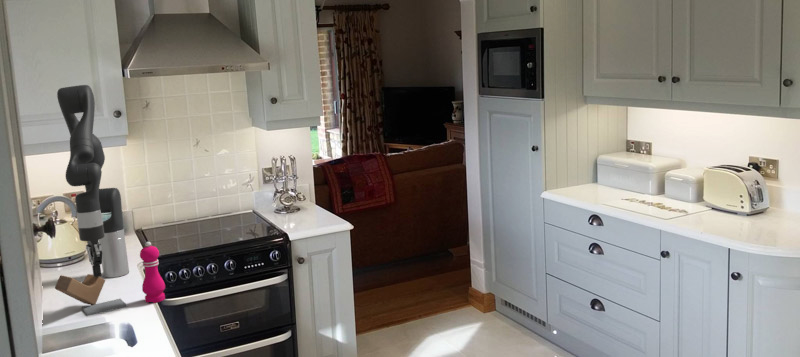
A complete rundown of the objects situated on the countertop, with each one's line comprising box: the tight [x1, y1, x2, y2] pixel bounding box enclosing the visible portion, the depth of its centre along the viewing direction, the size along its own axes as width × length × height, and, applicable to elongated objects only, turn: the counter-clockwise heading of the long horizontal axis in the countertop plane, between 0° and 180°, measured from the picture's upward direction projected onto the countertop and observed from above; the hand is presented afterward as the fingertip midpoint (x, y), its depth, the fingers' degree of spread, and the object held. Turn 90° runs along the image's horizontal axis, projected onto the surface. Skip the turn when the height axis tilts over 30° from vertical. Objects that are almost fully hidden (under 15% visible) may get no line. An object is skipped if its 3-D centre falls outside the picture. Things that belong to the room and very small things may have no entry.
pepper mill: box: [139, 241, 166, 304], centre depth 236 cm, size 7×7×20 cm
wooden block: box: [54, 273, 106, 306], centre depth 230 cm, size 9×4×18 cm
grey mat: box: [81, 298, 128, 316], centre depth 233 cm, size 8×12×1 cm
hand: (97, 276), depth 234 cm, fingers closed
